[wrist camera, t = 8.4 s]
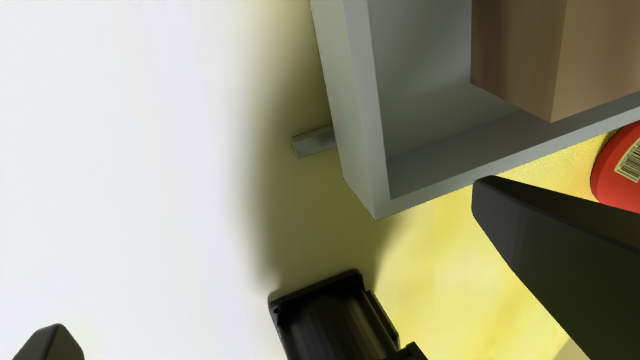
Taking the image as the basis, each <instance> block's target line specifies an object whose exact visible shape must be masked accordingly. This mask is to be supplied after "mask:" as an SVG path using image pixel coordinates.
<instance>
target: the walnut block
mask: <svg viewBox="0 0 640 360" xmlns="http://www.w3.org/2000/svg"><path fill="white" fill-rule="evenodd" d="M470 83H472V84H474V85H476V86H478V87H480V88H482V89H484V90H486V91H488V92H490V93H492V94H493V95H495V96H497V97H499V98H501V99H503V100H505V101H507V102H509V103H511V104H513V105H515V106H517V107H519V108H521V109H523V110H525V111H527V112H529V113H531V114H533V115H535V116H537V117H539V118H541V119H543V120H545V121H547V122H549V123H552V122H555V121H558V120H560V119H563V118H566V117H569V116H571V115H574V114H577V113H579V112H582V111H585V110H588V109H590V108H593V107H596V106H599V105H601V104H604V103H607V102H610V101H612V100H615V99H618V98H621V97H623V96H626V95H629V94H632V93H634V92H637V91H640V0H472V11H471V67H470Z"/></svg>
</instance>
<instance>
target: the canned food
mask: <svg viewBox="0 0 640 360" xmlns="http://www.w3.org/2000/svg"><path fill="white" fill-rule="evenodd" d="M591 191H592V194H593V195H594V196H595V198H596V199H597V200H598V201H599V202H600V203H601V204H605V205H609V206H613V207H617V208H621V209H624V210H628V211H632V212H636V213H640V120H638V121H635V122H633V123H630V124H627V125H626V126H624V127H623V128H622V129H621V130H619V131H618V132H617V133H616V134H615V135H614V136H613V137H612V138H611V140H610V141H609V142H608V143H607V145H606V146H605V147H604V149H603V150H602V152H601V153H600V155H599V157H598V159H597V161H596V163H595V165H594V168H593V171H592V175H591Z"/></svg>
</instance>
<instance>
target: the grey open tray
mask: <svg viewBox="0 0 640 360" xmlns="http://www.w3.org/2000/svg"><path fill="white" fill-rule="evenodd" d="M309 1H310V6H311V11H312V16H313V22H314V27H315V32H316V37H317V43H318V48H319V53H320V58H321V64H322V69H323V74H324V79H325V85H326V90H327V95H328V100H329V106H330V111H331V116H332V121H333V127H334V132H335V137H336V142H337V148H338V153H339V158H340V164H341V169H342V174H343V179H344V180H345V181H346V183H347V184H348V185H349V187H350V188H351V189H352V191H353V192H354V193H355V195H356V196H357V197H358V198H359V200H360V201H361V202H362V204H363V205H364V206H365V208H366V209H367V210H368V212H369V213H370V214H371V216H372V217H373V218H374V220H375V221H377V220H380V219H382V218H385V217H387V216H390V215H393V214H395V213H398V212H401V211H403V210H406V209H408V208H411V207H414V206H416V205H419V204H421V203H424V202H427V201H429V200H432V199H434V198H437V197H440V196H442V195H445V194H447V193H450V192H453V191H455V190H458V189H460V188H463V187H466V186H468V185H471V184H473V183H474V181H475V180H477V179H479V178H482V177H485V176H488V175H497V174H500V173H502V172H505V171H507V170H510V169H513V168H515V167H518V166H520V165H523V164H526V163H528V162H531V161H533V160H536V159H539V158H541V157H544V156H547V155H549V154H552V153H554V152H557V151H560V150H562V149H565V148H567V147H570V146H573V145H575V144H578V143H580V142H583V141H586V140H588V139H591V138H593V137H596V136H599V135H601V134H604V133H606V132H609V131H612V130H614V129H617V128H620V127H622V126H625V125H627V124H630V123H633V122H635V121H638V120H640V91H637V92H634V93H632V94H629V95H626V96H623V97H621V98H618V99H615V100H612V101H610V102H607V103H604V104H601V105H599V106H596V107H593V108H590V109H588V110H585V111H582V112H579V113H577V114H574V115H571V116H569V117H566V118H563V119H560V120H558V121H555V122H552V123H549V122H547V121H545V120H543V119H541V118H539V117H537V116H535V115H533V114H531V113H529V112H527V111H525V110H523V109H521V108H519V107H517V106H515V105H513V104H511V103H509V102H507V101H505V100H503V99H501V98H499V97H497V96H495V95H493V94H492V93H490V92H488V91H486V90H484V89H482V88H480V87H478V86H476V85H474V84H472V83H470V67H471V11H472V0H309Z"/></svg>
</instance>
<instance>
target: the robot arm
mask: <svg viewBox="0 0 640 360" xmlns="http://www.w3.org/2000/svg"><path fill="white" fill-rule="evenodd" d="M471 209H472V213H473V216H474V218H475V219H476V221H477V222H478V224H479V225H480V226H481V228H482V229H483V231H484V232H485V234H486V235H487V236H488V238H489V239H490V241H491V242H492V243H493V245H494V246H495V248H496V249H497V250H498V252H499V253H500V255H501V256H502V258H503V259H504V260H505V262H506V263H507V264H508V266H509V267H510V268H511V269H512V271H513V272H514V273H515V274H516V275H517V277H518V278H519V279H520V280H521V281H522V282H523V283H524V285H525V286H526V287H527V288H528V289H529V290H530V291H531V293H532V294H533V295H534V296H535V297H536V298H537V299H538V301H539V302H540V303H541V304H542V305H543V306H544V307H545V309H546V310H547V311H548V312H549V313H550V314H551V315H552V316H553V318H554V319H555V320H556V321H557V322H558V323H559V324H560V326H561V327H562V328H563V329H564V330H565V331H566V332H567V334H568V335H569V336H570V337H571V338H572V339H573V340H574V341H575V343H576V344H577V345H578V346H579V347H580V348H581V349H582V351H583V352H584V353H585V354H586V355H587V356H588V357H589V359H590V360H640V213H636V212H632V211H628V210H624V209H621V208H617V207H613V206H609V205H605V204H601V203H598V202H594V201H590V200H586V199H582V198H579V197H575V196H571V195H567V194H563V193H559V192H556V191H552V190H548V189H544V188H540V187H536V186H533V185H529V184H525V183H521V182H517V181H514V180H510V179H506V178H502V177H498V176H494V175H488V176H485V177H482V178H479V179H477V180H475V181H474V183H473V190H472V205H471ZM353 277H354V278H353ZM268 308H269V312H270V315H271V318H272V320H273V323H274V325H275V328H276V330H277V333H278V335H279V338H280V340H281V343H282V345H283V348H284V350H285V353H286V356H287V359H288V360H428V359H427V358H426V356H425V355H424V354H423V352H422V351H421V350H420V349H419V347H418V346H417V345H416V343H415V342H414V341H413V342H411V343H409V344H407V345H406V347H405V348H403V349H401V347H400V340H399V334H398V332H397V331H396V329H395V327H394V326H393V324H392V322H391V321H390V319H389V317H388V316H387V314H386V312H385V311H384V309H383V307H382V306H381V304H380V303H379V301H378V299H377V298H376V296H375V294H374V293H373V291H370V290H368V291H365V288H364V283H363V278H362V275H361V273H360V271H359V270H357V269H354V270H350V271H348V272H345V273H343V274H340V275H338V276H335V277H333V278H331V279H328V280H326V281H323V282H321V283H318V284H316V285H313V286H311V287H308V288H306V289H303V290H301V291H298V292H296V293H293V294H291V295H288V296H286V297H283V298H281V299H278V300H276V301H273V302H272V303H270V305H269V307H268ZM276 308H277V309H276ZM12 360H85V359H84V354H83V351H82V349H81V347H80V346H79V344H78V343H77V342H76V340H75V339H74V338H73V336H72V335H71V334H70V332H69V331H68V330H67V328H66V327H65V326H64V325H62V324H60V323H57V324H53V325H50V326H47V327H44V328H41V329H39V330H37V331H36V332H35V333H34V334H33V335H32V336H31V337H30V338H29V340H28V341H27V342H26V343H25V344H24V346H23V347H22V348H21V349H20V351H19V352H18V353H17V354H16V355H15V357H14V358H13V359H12Z"/></svg>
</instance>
